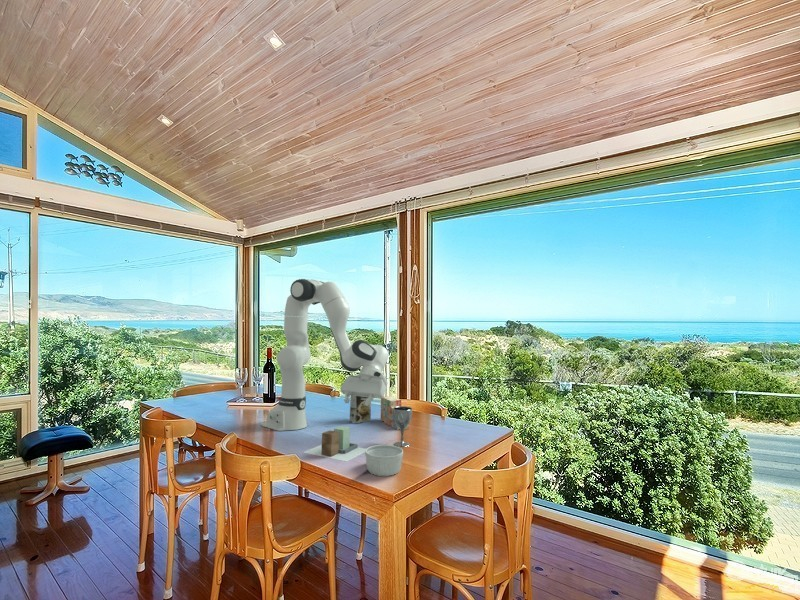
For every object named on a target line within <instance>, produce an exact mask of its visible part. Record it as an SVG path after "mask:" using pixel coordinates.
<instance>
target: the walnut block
mask: <svg viewBox="0 0 800 600" xmlns="http://www.w3.org/2000/svg"><path fill="white" fill-rule="evenodd" d="M321 445H322V451H321V455H325V456H329V457H332V456H334V455H336V454H338V450H339V432H336V431H334V430H330V429H329V430H326V431H324V432H322V433H321Z"/></svg>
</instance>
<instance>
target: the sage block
mask: <svg viewBox="0 0 800 600" xmlns="http://www.w3.org/2000/svg"><path fill="white" fill-rule="evenodd" d="M333 431H336V432H339V449H342V450H345V449H347V448H349V447H350V443H351V442H350V441H351V440H350V439H351V437H350V436H351V427H350V426H342V425H339V426H338V427H334V428H333Z"/></svg>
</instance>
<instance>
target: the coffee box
mask: <svg viewBox="0 0 800 600" xmlns="http://www.w3.org/2000/svg"><path fill="white" fill-rule="evenodd" d="M368 398H369V397H362V396H354V395H350V401H349V403H350V405H349V406H350V407H349V422H351V421H352V422H351V423H353V422H355V423H354V424H356V423H357V424H361V423H360V422H363V423H367V422H366V421H369V422H371V421H372V420H371V418H372V417H371V415H372V414H371V413H372V401H371V402H370V403H369V404H368V406H365V405H364V404H363V402H364V400H367V399H368Z"/></svg>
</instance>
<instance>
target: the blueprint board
mask: <svg viewBox="0 0 800 600" xmlns="http://www.w3.org/2000/svg"><path fill="white" fill-rule="evenodd" d="M366 449H367V448H365V447H364V448H363V447H360V446H358V444H357V443H352V442H350V447H349V448H347V449H345V450H342V449H339V450H338V454H336V455H334V456H332V457H329V456H325V455H321V451H322V444H320V445H317V446H315V447H313V448H312V447H311V448H310V449H307V450H305V451H302V453H305V454H308V455H313V456H318V457H323V458H328V459H332V460H337V461H341V462H342V461H343V462H349V461H351V460H353V459H355V458H357V457H359V456H361V455H362V454H365V450H366Z"/></svg>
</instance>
